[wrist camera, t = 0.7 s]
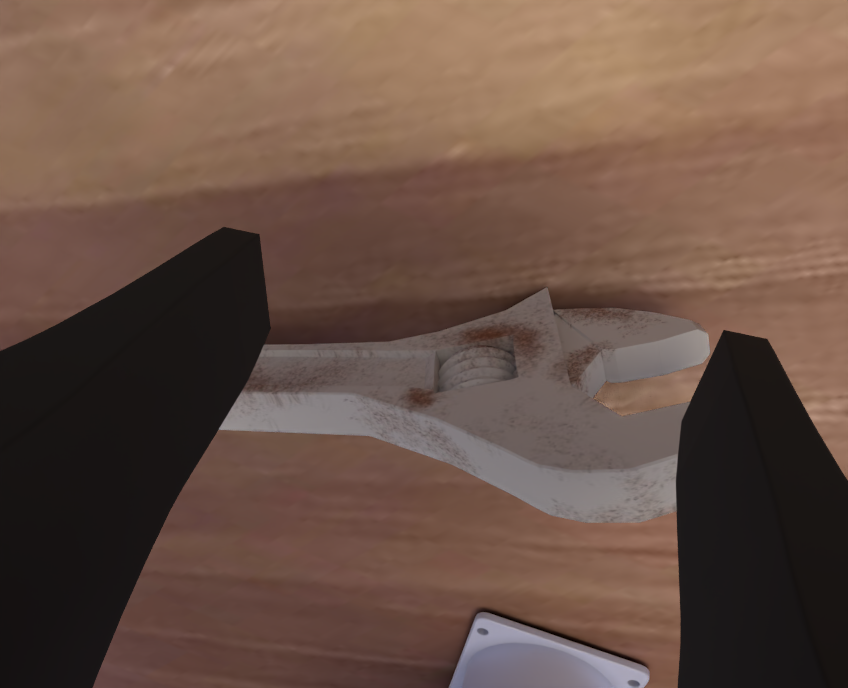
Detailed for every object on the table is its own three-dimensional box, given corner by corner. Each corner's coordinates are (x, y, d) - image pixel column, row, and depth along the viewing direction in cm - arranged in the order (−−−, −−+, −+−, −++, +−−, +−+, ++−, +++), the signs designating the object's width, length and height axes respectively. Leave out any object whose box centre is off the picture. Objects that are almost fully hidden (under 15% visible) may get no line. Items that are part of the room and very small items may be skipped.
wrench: (45, 311, 34) (758, 271, 21) (65, 344, 35) (761, 326, 21) (-111, 427, 28) (741, 478, 15) (-82, 462, 29) (746, 542, 16)
